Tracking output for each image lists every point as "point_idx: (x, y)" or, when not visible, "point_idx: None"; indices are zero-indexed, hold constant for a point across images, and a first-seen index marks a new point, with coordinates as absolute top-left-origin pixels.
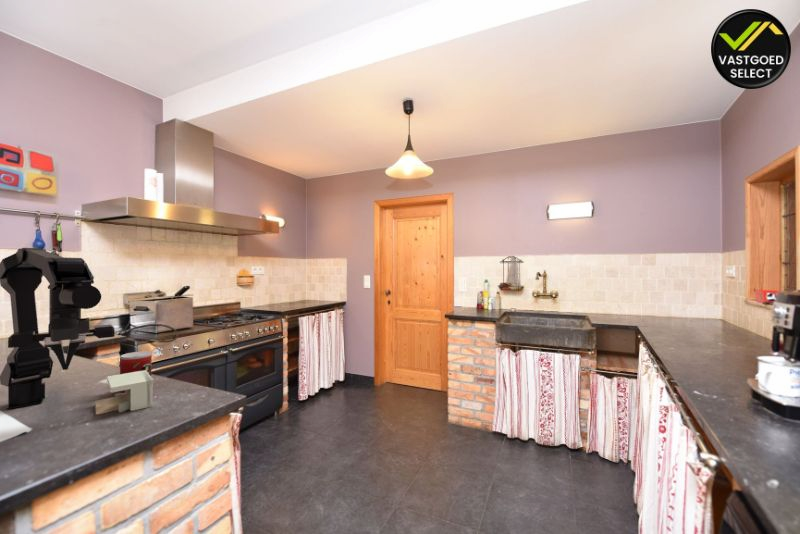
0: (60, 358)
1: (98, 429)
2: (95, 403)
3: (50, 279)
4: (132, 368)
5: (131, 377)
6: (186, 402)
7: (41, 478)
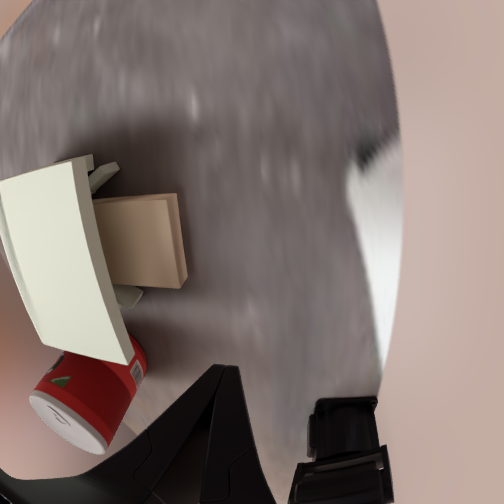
0: (235, 438)
1: (166, 33)
2: (179, 270)
3: None
4: (74, 376)
5: (45, 281)
6: (5, 143)
7: None
